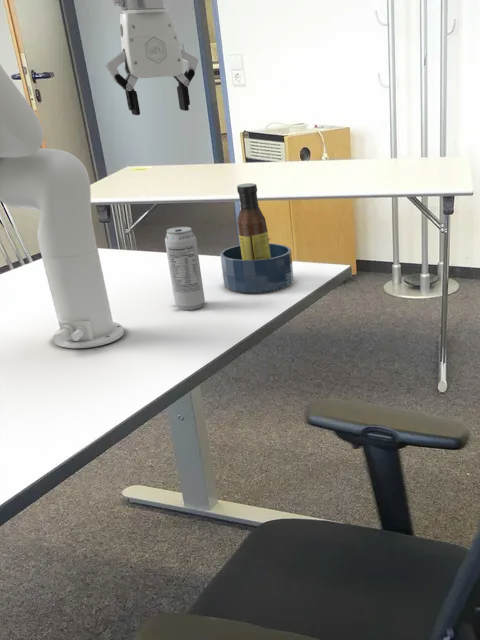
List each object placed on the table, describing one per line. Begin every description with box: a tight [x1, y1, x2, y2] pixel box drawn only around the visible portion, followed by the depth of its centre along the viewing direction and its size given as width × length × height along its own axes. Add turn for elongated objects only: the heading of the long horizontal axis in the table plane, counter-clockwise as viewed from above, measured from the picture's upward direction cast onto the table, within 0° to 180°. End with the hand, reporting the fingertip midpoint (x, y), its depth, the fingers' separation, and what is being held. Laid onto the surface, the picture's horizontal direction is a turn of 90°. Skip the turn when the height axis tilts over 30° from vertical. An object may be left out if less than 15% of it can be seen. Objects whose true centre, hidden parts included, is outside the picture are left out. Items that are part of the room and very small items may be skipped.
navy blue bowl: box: [219, 242, 294, 294], centre depth 167 cm, size 15×15×7 cm
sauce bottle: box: [236, 182, 271, 260], centre depth 164 cm, size 6×6×20 cm
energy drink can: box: [164, 226, 206, 311], centre depth 153 cm, size 6×6×15 cm
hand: (160, 112), depth 147 cm, fingers open, 9 cm apart
